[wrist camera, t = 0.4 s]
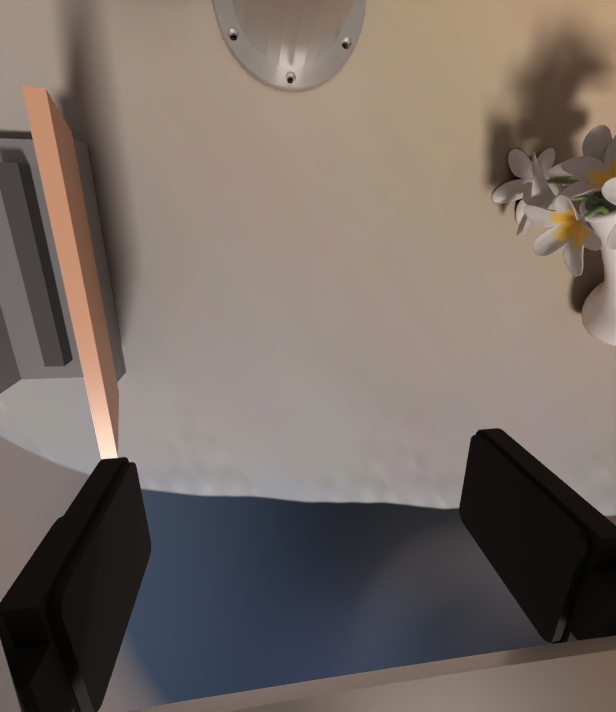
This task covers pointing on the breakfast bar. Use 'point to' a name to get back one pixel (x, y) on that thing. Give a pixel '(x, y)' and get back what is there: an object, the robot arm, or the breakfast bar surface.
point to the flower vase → (573, 216)
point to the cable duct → (7, 291)
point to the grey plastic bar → (35, 262)
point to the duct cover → (76, 261)
